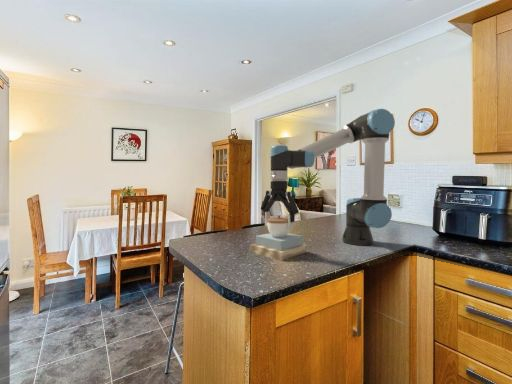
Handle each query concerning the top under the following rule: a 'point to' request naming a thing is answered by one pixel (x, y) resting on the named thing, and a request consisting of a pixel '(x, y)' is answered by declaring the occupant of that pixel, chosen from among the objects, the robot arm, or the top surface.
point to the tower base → (277, 251)
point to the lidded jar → (278, 226)
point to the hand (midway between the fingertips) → (278, 227)
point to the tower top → (279, 241)
